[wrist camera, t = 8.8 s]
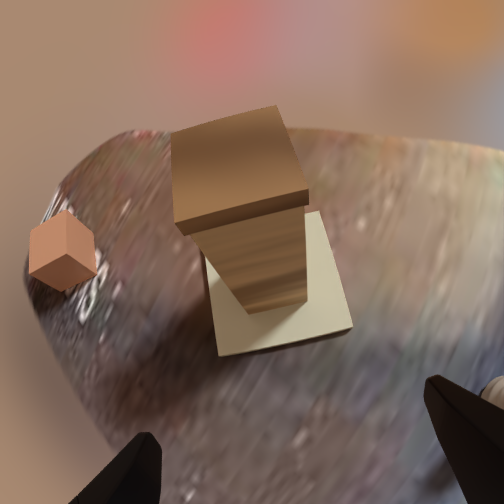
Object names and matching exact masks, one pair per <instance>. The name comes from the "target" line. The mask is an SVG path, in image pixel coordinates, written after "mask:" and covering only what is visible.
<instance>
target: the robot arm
mask: <svg viewBox="0 0 504 504" xmlns="http://www.w3.org/2000/svg"><path fill="white" fill-rule="evenodd" d="M424 402H425V404H426V407H427V410H428V413H429V415H430V418H431V421H432V424H433V427H434V430H435V432H436V435H437V438H438V440H439V442H440V444H441V446H442V449H443V451H444V453H445V455H446V457H447V459H448V461H449V463H450V465H451V467H452V470H453V472H454V474H455V476H456V478H457V481H458V483H459V485H460V487H461V489H462V492H463V494H464V496H465V499H466V501H467V503H468V504H504V410H503V409H502V408H500V407H498V406H496V405H494V404H492V403H490V402H488V401H487V400H485V399H483V398H481V397H479V396H477V395H475V394H474V393H472V392H470V391H468V390H466V389H464V388H463V387H461V386H459V385H457V384H455V383H453V382H452V381H450V380H448V379H446V378H444V377H442V376H441V375H438V374H437V375H434V376H431V377H428V378H427V379H426V382H425V389H424ZM161 471H162V449H161V446H160V445H159V443H158V442H157V440H156V439H155V438H154V436H153V435H152V434H151V433H150V432H140V433H138V434H137V435H136V436H135V437H134V438H133V439H132V440H131V441H130V442H129V443H128V444H127V445H126V446H125V447H124V448H123V449H122V450H121V451H120V452H119V454H118V455H117V456H116V457H115V458H114V459H113V460H112V461H111V462H110V463H109V464H108V465H107V466H106V467H105V468H104V469H103V470H102V471H101V472H100V473H99V474H98V475H97V476H96V477H95V478H94V479H93V480H92V481H91V482H90V483H89V484H88V485H87V486H86V487H85V488H84V489H83V490H82V491H81V492H80V493H79V494H78V496H76V497H75V498H74V499H73V500H72V501H71V502H69V503H68V504H159V501H160V493H161Z"/></svg>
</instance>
